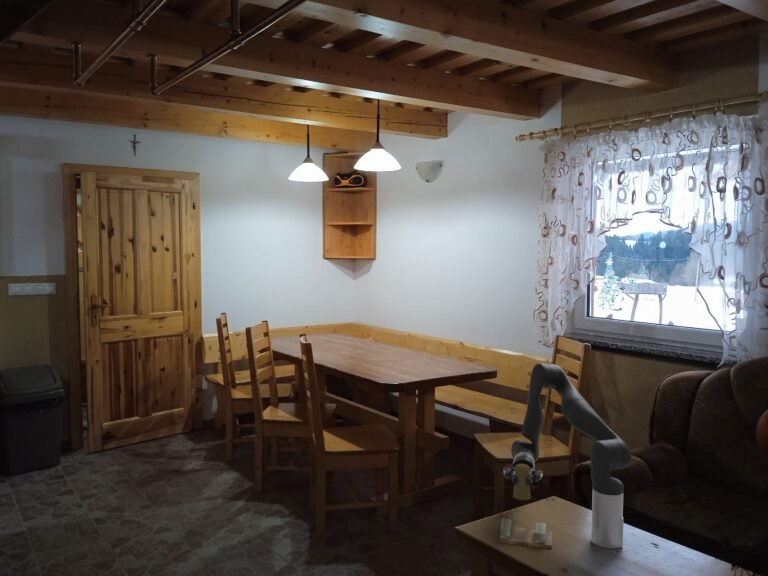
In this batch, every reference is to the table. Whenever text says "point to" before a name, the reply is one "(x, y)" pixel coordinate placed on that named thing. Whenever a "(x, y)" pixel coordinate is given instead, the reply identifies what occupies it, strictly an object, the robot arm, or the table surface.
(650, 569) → the table surface
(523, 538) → the endcap cradle
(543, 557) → the table surface
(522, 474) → the cork
